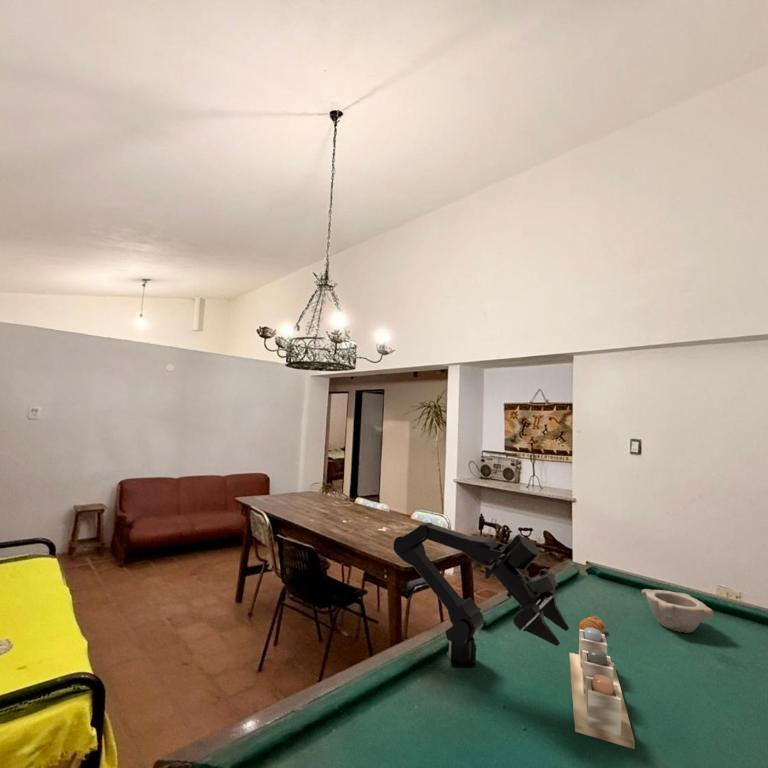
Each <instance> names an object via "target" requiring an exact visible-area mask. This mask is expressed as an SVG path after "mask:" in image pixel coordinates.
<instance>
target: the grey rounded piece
mask: <svg viewBox="0 0 768 768" xmlns="http://www.w3.org/2000/svg"><path fill="white" fill-rule="evenodd" d="M607 656H608V654H607V655H606V653H604V652H603V651H601V650H598V649H589V650H588V662H590V663H594V664H599V665H603V666H607Z"/></svg>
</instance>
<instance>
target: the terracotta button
mask: <svg viewBox="0 0 768 768" xmlns="http://www.w3.org/2000/svg"><path fill="white" fill-rule="evenodd" d="M593 691H595V692H599V693H603V694H607V695H611V696H613V681H612V680H611V679H609V678H608V677H606V676H603V675H594V676H593Z"/></svg>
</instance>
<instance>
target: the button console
mask: <svg viewBox="0 0 768 768" xmlns="http://www.w3.org/2000/svg"><path fill="white" fill-rule="evenodd" d="M578 637H579V640H578V643H579V644H578V645H579V646H578V653H574V652H569V668H570V680H571V684H570V685H571V695H572V706H573V719H574V731H575V733H579V734H582V735H585V736H589V737H593V738H595V739H600V740H602V741H606V742H609V743H612V744H616V745H619V746H623V747H625V748H629V749H633V750H635V749H636V747H635V745H636V744H635V743H636V741H635V737H634V734H633V730H632V727H631V722H630V719H629V714H628V711H627V706H626V704H625V700H624V696H623V692H622V688H621V685H620V681H619V677H618V673H617V670H616V666H615V663H614V662H612V659H611V656H609V655H608V643H607V639H606V635H605V633H603V634H601V642H596V641H592V640H587V639H585V630H581V629H579V628H578ZM589 649H598V650H601V651H603V652H604V653H606V655H607V666H603V665H599V664H594V663H590V662H588V650H589ZM594 675H603V676H606V677H608V678H609V679H611V680H612V681H613V696H611V695H607V694H603V693H599V692H595V691H593V676H594Z"/></svg>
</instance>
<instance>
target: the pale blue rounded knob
mask: <svg viewBox="0 0 768 768" xmlns="http://www.w3.org/2000/svg"><path fill="white" fill-rule="evenodd" d="M585 639H587V640H592V641H596V642H601V632H600V631H599V630H597V629H595V628H590V627H587V628H585Z"/></svg>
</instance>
